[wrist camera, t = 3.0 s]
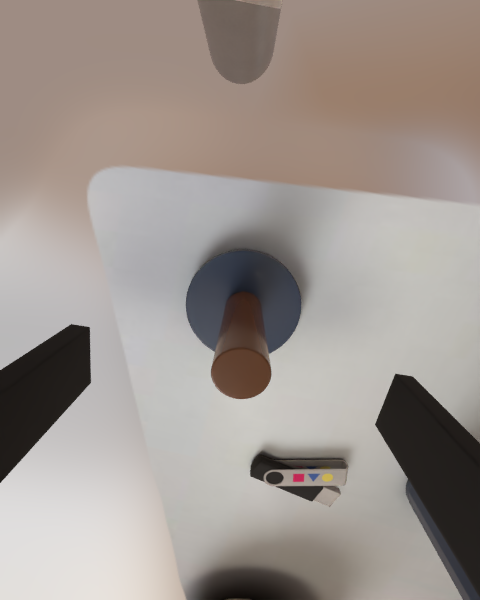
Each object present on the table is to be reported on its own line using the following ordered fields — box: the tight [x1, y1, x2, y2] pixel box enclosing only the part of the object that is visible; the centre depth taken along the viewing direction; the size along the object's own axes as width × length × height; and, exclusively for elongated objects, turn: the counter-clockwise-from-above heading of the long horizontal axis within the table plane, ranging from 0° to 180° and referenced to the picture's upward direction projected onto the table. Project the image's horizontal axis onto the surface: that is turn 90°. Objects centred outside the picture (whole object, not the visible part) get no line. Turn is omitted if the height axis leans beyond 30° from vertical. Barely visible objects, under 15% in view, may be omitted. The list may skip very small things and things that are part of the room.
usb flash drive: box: [250, 455, 348, 507], centre depth 25 cm, size 9×5×1 cm, turn 63°
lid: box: [186, 250, 301, 399], centre depth 16 cm, size 8×8×9 cm
